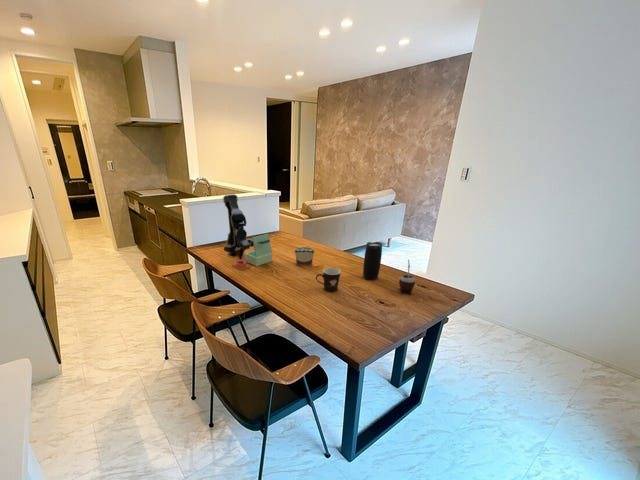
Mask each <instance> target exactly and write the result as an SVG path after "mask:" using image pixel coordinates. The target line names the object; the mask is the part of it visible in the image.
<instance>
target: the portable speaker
mask: <svg viewBox="0 0 640 480" xmlns="http://www.w3.org/2000/svg"><path fill="white" fill-rule="evenodd" d="M382 255H383V243H382V242H378V241H377V242H376V241H375V242H371V241H368V242H366V247H365V251H364V258H363V267H362V268H363V269H362V278H363V279H364V280H367V279H371V280H373V281H376V280H378V279H379V278H378V277H379V273H380V269H381V263H382Z"/></svg>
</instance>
